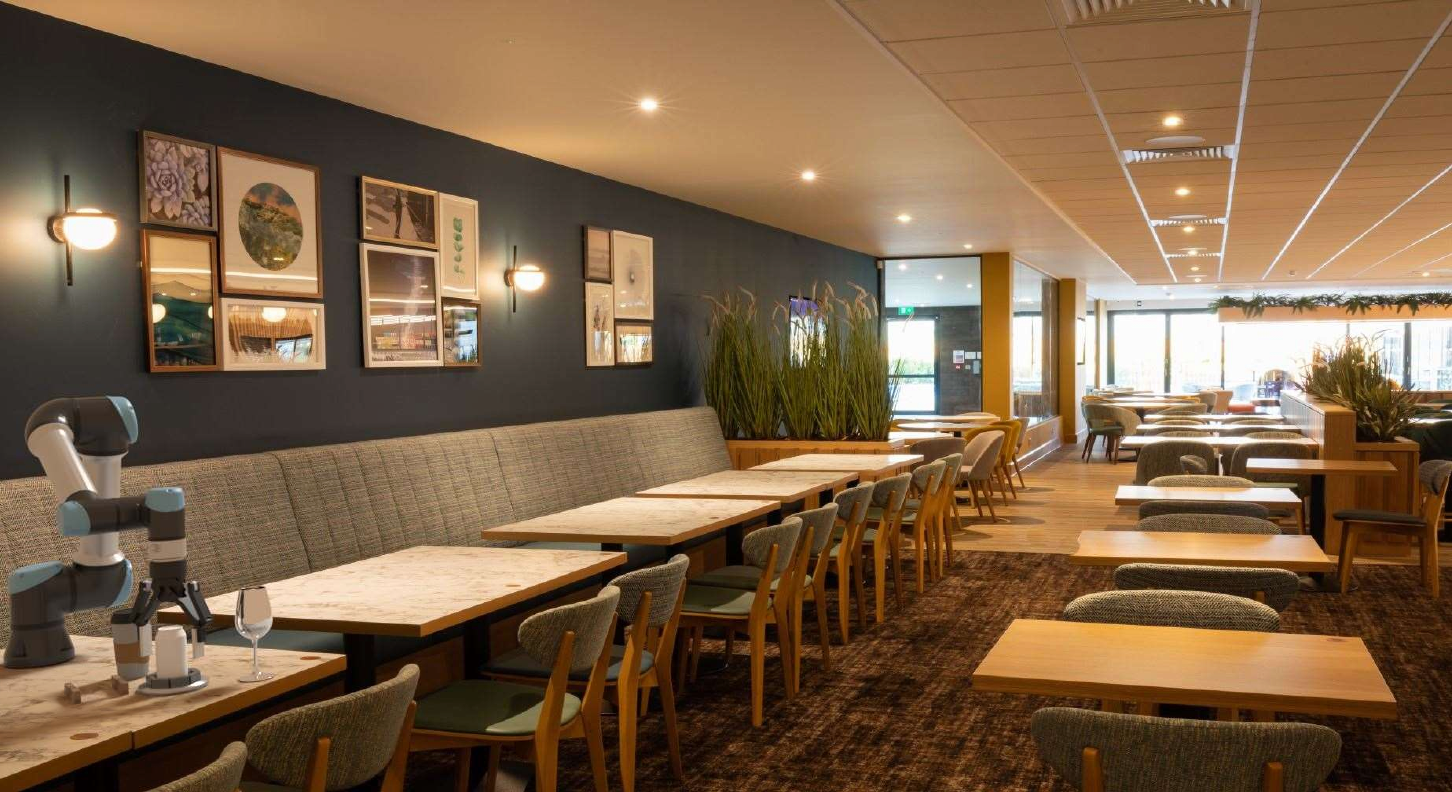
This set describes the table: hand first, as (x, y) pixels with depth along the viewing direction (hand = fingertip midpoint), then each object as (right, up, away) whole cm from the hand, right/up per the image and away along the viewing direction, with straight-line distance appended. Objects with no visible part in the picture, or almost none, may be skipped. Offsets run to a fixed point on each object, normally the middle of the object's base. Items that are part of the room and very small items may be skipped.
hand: (172, 656), depth 267 cm
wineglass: (+16, -6, +6) cm, 18 cm away
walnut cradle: (-14, -7, -4) cm, 17 cm away
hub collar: (0, -7, 0) cm, 7 cm away
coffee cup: (-14, -7, +12) cm, 20 cm away
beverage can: (0, -6, 0) cm, 6 cm away
